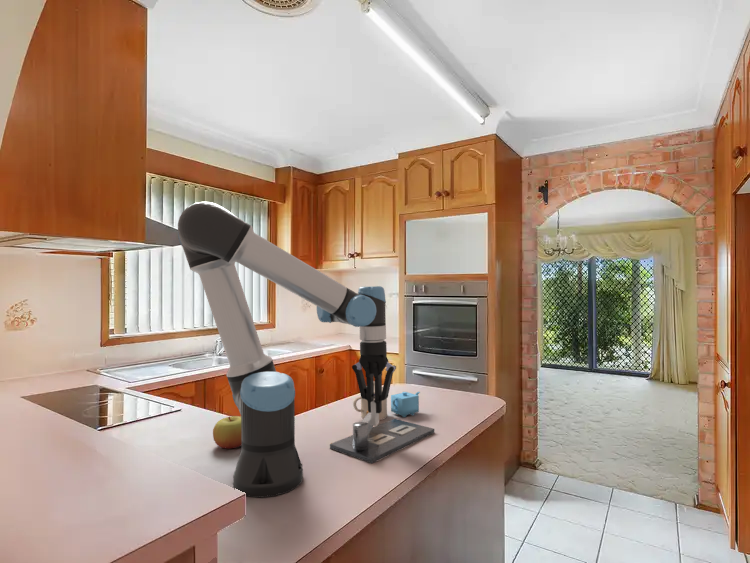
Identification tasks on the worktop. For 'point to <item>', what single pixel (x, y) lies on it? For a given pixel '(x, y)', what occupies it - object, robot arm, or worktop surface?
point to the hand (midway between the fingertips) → (375, 424)
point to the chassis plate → (384, 440)
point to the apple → (228, 432)
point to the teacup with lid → (365, 406)
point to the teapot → (405, 403)
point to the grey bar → (362, 432)
